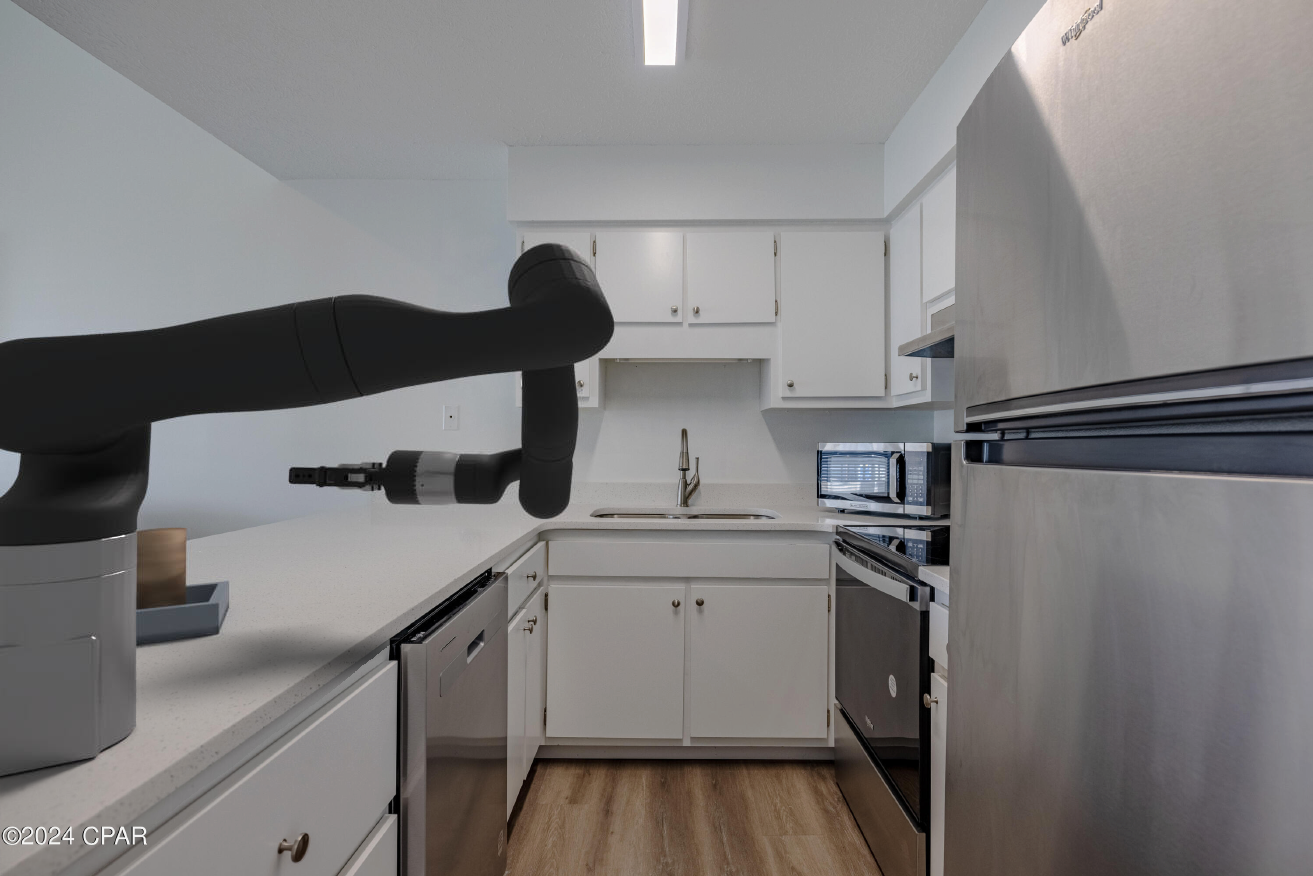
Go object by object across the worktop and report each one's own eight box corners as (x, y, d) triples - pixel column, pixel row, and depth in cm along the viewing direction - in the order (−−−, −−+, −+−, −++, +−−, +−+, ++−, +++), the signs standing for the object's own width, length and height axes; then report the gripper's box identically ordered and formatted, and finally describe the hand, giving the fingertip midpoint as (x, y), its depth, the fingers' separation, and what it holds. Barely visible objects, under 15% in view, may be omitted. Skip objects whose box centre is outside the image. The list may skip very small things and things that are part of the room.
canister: (182, 622, 80) (183, 531, 80) (131, 628, 77) (131, 534, 77) (188, 612, 84) (188, 526, 84) (140, 617, 82) (140, 529, 82)
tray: (218, 633, 78) (218, 602, 78) (72, 653, 71) (72, 619, 71) (229, 607, 90) (229, 580, 90) (105, 621, 83) (105, 592, 83)
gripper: (408, 508, 76) (275, 505, 76) (441, 501, 91) (330, 499, 90) (410, 449, 77) (279, 445, 76) (443, 451, 91) (333, 448, 90)
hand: (307, 474), depth 83 cm, fingers open, 8 cm apart
